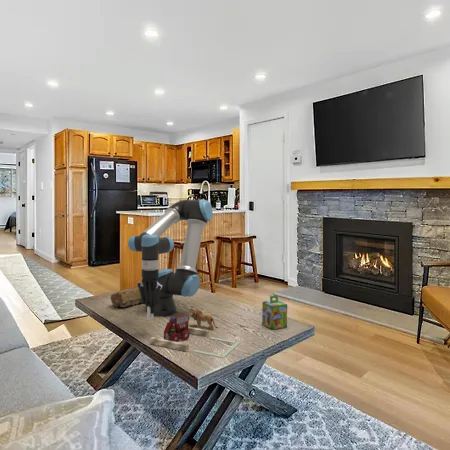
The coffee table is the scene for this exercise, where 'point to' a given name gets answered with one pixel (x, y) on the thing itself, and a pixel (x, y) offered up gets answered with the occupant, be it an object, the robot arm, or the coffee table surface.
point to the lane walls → (176, 344)
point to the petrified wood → (126, 297)
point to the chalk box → (274, 313)
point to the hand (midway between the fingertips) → (150, 319)
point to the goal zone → (217, 354)
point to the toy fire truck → (177, 328)
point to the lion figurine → (201, 317)
